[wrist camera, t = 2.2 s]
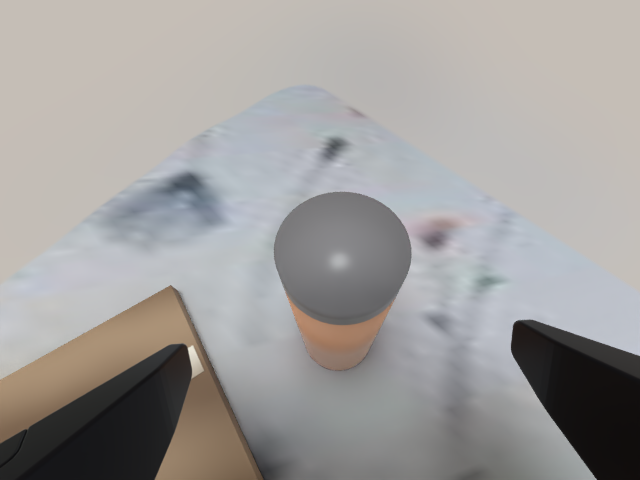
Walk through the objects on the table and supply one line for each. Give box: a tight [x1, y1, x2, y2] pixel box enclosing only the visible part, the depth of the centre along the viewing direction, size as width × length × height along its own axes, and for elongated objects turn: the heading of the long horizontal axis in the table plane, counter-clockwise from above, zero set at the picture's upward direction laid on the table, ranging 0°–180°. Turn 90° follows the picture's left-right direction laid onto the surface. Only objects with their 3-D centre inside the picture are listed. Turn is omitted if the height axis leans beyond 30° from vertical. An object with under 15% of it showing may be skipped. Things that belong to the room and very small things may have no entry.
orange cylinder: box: [274, 192, 411, 371], centre depth 14 cm, size 4×4×11 cm
